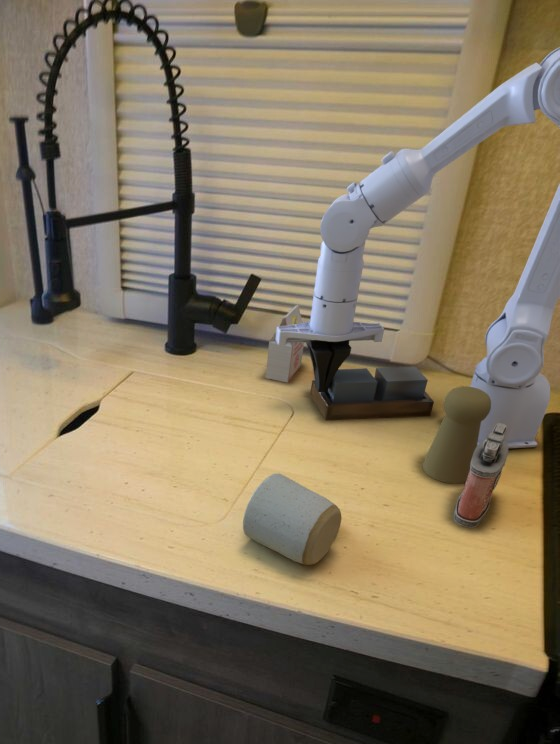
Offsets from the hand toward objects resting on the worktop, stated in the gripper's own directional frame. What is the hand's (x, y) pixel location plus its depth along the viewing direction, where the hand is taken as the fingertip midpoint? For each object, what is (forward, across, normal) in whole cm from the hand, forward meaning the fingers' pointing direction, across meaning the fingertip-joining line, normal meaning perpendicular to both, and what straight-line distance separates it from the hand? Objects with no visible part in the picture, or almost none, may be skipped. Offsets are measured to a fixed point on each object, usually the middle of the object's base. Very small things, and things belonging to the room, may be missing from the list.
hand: (320, 389), depth 96 cm
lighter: (+3, -11, +26) cm, 28 cm away
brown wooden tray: (+3, -8, 0) cm, 8 cm away
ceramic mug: (+3, +11, +30) cm, 32 cm away
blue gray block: (+2, -4, 0) cm, 5 cm away
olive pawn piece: (+3, -12, +18) cm, 22 cm away
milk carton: (+3, +2, -12) cm, 13 cm away
